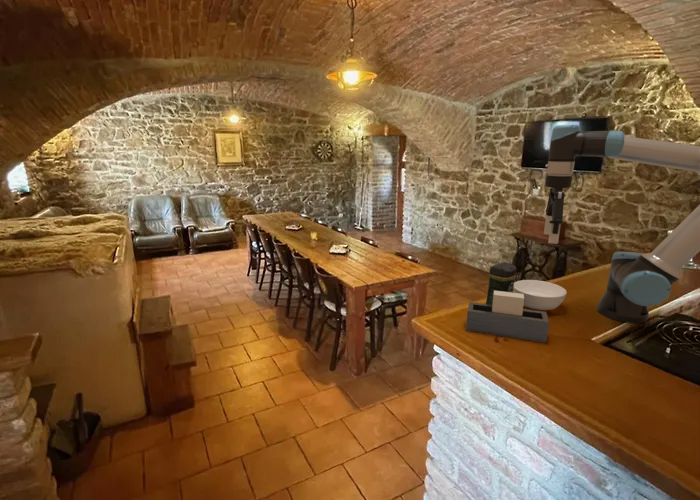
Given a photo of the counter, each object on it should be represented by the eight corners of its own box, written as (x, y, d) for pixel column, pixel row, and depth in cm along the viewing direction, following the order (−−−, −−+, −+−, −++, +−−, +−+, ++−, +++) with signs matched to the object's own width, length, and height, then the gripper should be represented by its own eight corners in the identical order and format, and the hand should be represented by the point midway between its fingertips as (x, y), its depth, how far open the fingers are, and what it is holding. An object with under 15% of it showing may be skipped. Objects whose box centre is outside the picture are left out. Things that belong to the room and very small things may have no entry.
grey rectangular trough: (543, 331, 125) (546, 311, 123) (546, 342, 118) (549, 322, 116) (467, 320, 133) (469, 301, 131) (465, 330, 126) (467, 311, 124)
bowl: (562, 320, 133) (565, 301, 131) (507, 309, 142) (509, 291, 141) (565, 302, 148) (568, 285, 146) (515, 293, 157) (517, 277, 156)
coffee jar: (502, 319, 134) (507, 269, 129) (481, 312, 140) (486, 264, 135) (515, 311, 140) (520, 263, 135) (495, 305, 146) (499, 259, 141)
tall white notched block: (519, 326, 125) (523, 293, 122) (520, 331, 122) (524, 298, 119) (490, 322, 128) (493, 290, 125) (490, 327, 125) (493, 294, 122)
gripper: (542, 172, 135) (534, 230, 141) (551, 177, 113) (542, 246, 119) (566, 172, 133) (557, 231, 139) (580, 178, 110) (569, 248, 116)
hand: (550, 238), depth 129 cm, fingers open, 13 cm apart
